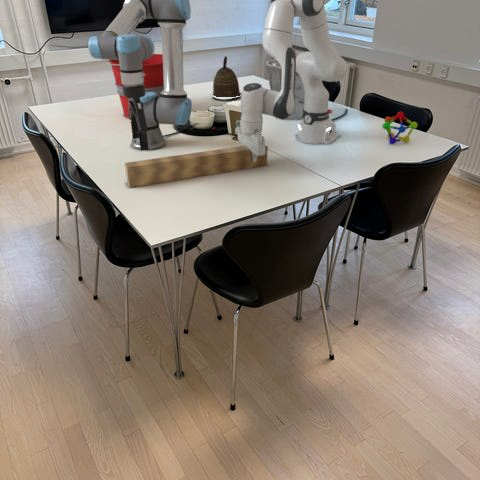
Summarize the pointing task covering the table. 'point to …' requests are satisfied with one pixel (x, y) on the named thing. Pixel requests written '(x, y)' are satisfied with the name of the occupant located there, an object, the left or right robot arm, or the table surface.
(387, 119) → the educational toy
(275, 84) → the bucket
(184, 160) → the beam
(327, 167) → the table surface
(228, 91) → the bell
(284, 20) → the right robot arm
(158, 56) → the bucket
